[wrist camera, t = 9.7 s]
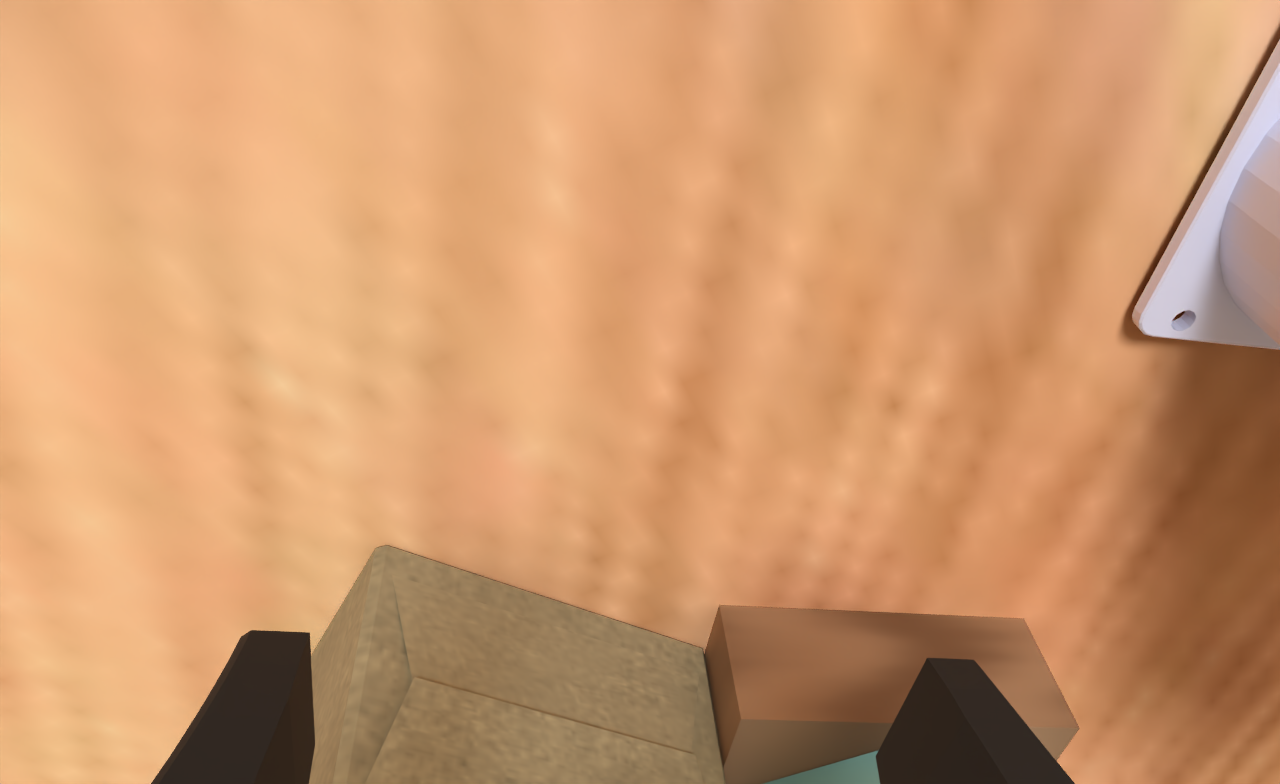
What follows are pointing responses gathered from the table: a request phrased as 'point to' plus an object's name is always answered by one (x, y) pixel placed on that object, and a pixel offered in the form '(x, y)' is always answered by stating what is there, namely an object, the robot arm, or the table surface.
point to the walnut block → (854, 681)
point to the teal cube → (839, 773)
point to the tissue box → (500, 688)
